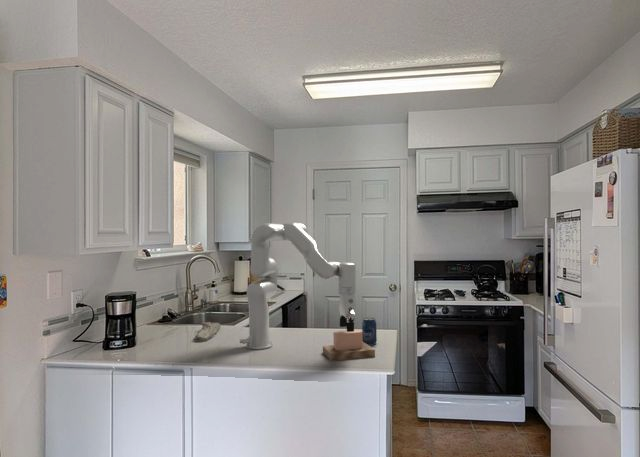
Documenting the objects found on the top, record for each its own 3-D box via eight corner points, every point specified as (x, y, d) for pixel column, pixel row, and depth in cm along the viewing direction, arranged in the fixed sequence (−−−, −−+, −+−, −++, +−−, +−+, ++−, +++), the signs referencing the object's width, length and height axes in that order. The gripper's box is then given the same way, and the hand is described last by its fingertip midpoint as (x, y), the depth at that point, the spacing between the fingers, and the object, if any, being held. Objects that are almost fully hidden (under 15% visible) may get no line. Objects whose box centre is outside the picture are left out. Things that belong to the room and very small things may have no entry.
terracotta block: (362, 347, 192) (362, 332, 192) (336, 350, 189) (336, 334, 189) (359, 345, 197) (358, 329, 197) (333, 347, 193) (333, 331, 193)
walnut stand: (331, 360, 184) (330, 353, 184) (322, 352, 196) (322, 346, 196) (375, 356, 189) (374, 349, 189) (364, 348, 202) (364, 342, 202)
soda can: (362, 345, 208) (361, 320, 209) (362, 341, 215) (362, 317, 215) (376, 345, 207) (376, 320, 207) (376, 341, 214) (376, 317, 214)
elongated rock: (190, 345, 220) (210, 346, 220) (190, 335, 219) (210, 335, 220) (206, 326, 255) (223, 327, 255) (206, 317, 254) (223, 318, 255)
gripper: (361, 293, 186) (361, 333, 186) (348, 287, 202) (348, 324, 202) (345, 293, 184) (344, 334, 184) (333, 288, 200) (332, 325, 200)
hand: (346, 329), depth 193 cm, fingers open, 9 cm apart
